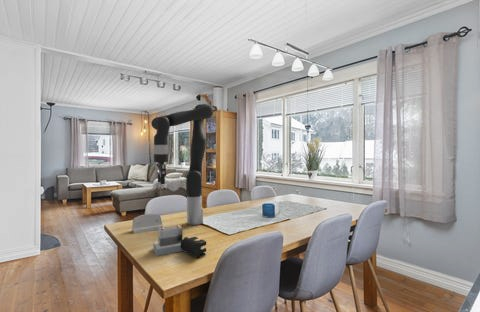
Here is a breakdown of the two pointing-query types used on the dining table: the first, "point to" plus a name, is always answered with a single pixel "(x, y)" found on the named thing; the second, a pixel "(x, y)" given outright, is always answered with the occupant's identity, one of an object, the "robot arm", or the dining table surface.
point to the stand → (166, 249)
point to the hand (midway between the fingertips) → (161, 183)
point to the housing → (169, 235)
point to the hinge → (146, 223)
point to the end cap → (193, 246)
